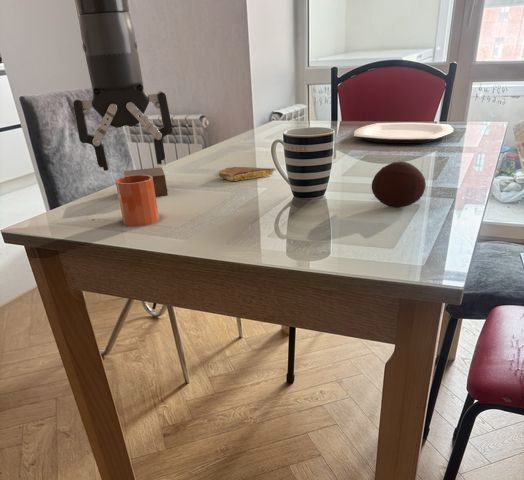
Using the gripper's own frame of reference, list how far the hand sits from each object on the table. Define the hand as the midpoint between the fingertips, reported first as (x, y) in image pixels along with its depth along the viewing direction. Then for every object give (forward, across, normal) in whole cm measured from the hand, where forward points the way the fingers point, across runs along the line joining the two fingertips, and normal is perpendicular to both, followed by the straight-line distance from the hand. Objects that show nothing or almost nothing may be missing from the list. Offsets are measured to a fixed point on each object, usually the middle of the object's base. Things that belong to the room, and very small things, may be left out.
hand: (132, 166), depth 82 cm
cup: (+10, 0, 0) cm, 10 cm away
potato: (+10, -44, +7) cm, 46 cm away
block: (+10, -2, -23) cm, 25 cm away
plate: (+11, -76, -53) cm, 93 cm away
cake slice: (+10, -24, -28) cm, 38 cm away
